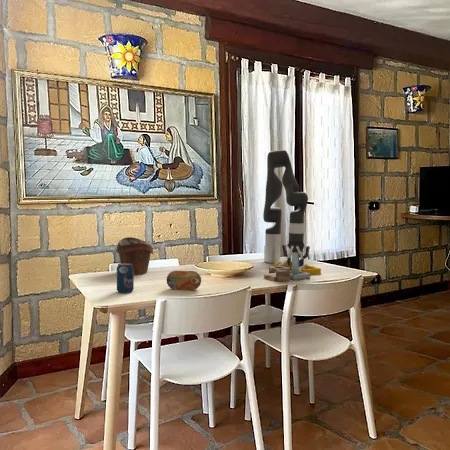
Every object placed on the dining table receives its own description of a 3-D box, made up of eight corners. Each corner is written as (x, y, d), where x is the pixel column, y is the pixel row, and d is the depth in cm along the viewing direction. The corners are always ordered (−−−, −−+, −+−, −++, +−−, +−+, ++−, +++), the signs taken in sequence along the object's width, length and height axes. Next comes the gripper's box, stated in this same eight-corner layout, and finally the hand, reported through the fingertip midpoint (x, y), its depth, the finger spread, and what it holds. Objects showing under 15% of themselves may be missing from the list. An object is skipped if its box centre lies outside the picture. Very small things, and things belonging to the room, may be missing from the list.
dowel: (290, 276, 227) (291, 252, 226) (292, 274, 230) (293, 251, 229) (297, 276, 226) (298, 252, 225) (299, 275, 229) (300, 251, 228)
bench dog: (275, 280, 219) (276, 270, 218) (285, 279, 222) (285, 269, 222) (279, 282, 216) (279, 271, 216) (289, 280, 219) (289, 270, 219)
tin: (166, 289, 198) (166, 270, 197) (168, 288, 201) (168, 269, 200) (200, 291, 195) (200, 271, 195) (201, 289, 198) (201, 270, 198)
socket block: (268, 272, 241) (268, 267, 240) (280, 271, 245) (280, 266, 244) (277, 275, 234) (278, 269, 234) (290, 273, 238) (290, 268, 238)
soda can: (127, 294, 187) (127, 265, 186) (113, 292, 190) (113, 264, 189) (136, 291, 194) (136, 263, 193) (123, 289, 196) (122, 262, 195)
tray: (281, 276, 230) (281, 271, 230) (296, 275, 235) (296, 270, 235) (293, 280, 221) (293, 275, 221) (309, 278, 226) (309, 273, 226)
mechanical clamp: (303, 266, 229) (272, 257, 256) (303, 278, 230) (272, 268, 257) (333, 263, 237) (299, 255, 264) (332, 275, 238) (299, 266, 265)
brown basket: (143, 276, 225) (144, 240, 224) (108, 274, 231) (108, 239, 230) (160, 271, 241) (160, 237, 240) (127, 269, 248) (127, 236, 247)
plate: (263, 279, 226) (263, 274, 225) (276, 277, 230) (276, 272, 230) (274, 282, 219) (274, 276, 219) (286, 280, 223) (286, 275, 223)
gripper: (280, 232, 226) (279, 265, 227) (308, 233, 220) (307, 268, 221) (284, 230, 233) (283, 263, 234) (312, 232, 227) (311, 265, 228)
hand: (295, 265), depth 228 cm, fingers open, 5 cm apart
